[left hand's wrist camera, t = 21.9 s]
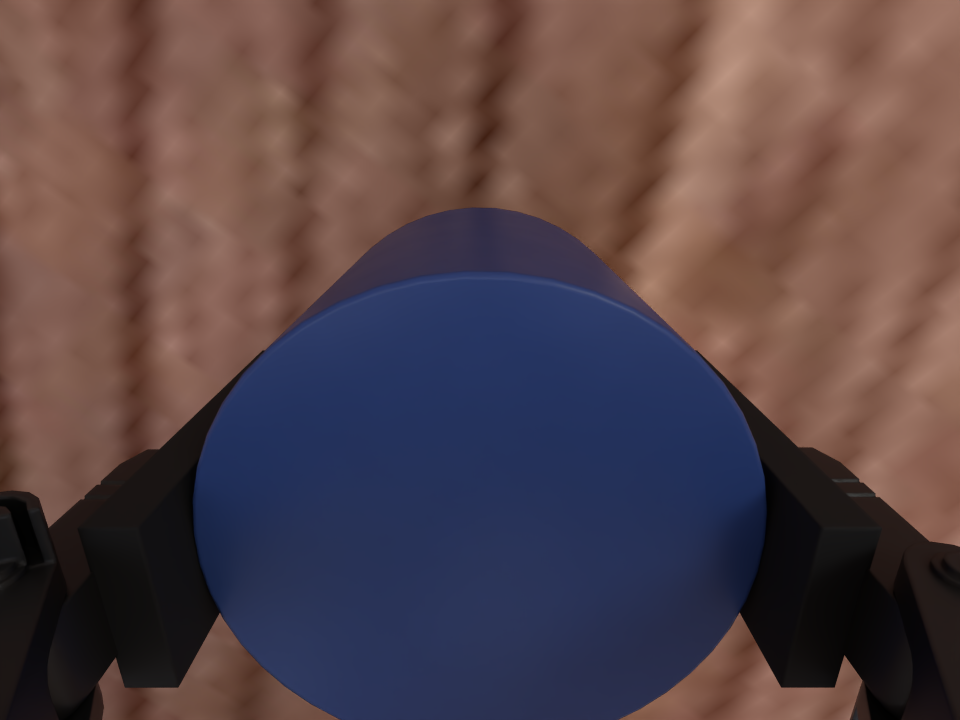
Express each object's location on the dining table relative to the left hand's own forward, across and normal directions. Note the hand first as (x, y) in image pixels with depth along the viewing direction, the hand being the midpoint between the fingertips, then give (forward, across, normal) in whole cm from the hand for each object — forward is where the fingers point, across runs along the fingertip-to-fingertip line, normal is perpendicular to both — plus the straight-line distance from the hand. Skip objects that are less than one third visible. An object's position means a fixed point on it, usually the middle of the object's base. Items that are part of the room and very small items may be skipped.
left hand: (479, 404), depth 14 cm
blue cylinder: (+2, 0, 0) cm, 2 cm away
